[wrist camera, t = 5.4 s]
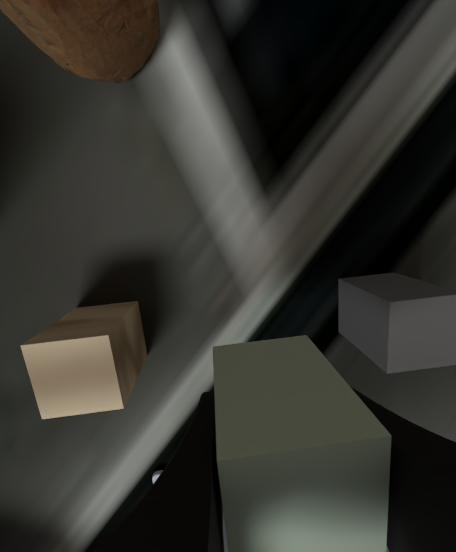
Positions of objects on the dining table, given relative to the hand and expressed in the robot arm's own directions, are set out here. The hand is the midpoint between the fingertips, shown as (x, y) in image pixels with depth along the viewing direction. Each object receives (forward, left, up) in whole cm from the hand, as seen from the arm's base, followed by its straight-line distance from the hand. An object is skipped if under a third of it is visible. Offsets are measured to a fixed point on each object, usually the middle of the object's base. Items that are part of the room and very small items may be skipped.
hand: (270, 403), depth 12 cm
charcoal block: (0, -10, -9) cm, 14 cm away
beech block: (0, +10, -10) cm, 14 cm away
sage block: (0, 0, -2) cm, 2 cm away
